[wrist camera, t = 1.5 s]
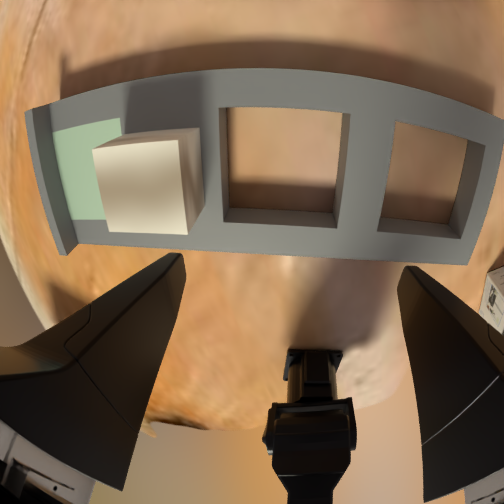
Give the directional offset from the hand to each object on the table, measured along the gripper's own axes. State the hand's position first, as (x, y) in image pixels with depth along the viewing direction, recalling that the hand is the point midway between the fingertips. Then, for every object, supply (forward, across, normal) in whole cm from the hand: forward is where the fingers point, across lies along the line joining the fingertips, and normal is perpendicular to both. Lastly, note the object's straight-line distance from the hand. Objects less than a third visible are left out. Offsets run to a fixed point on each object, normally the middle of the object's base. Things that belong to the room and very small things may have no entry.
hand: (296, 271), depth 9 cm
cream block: (+10, +8, 0) cm, 14 cm away
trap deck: (+13, +2, 0) cm, 13 cm away
